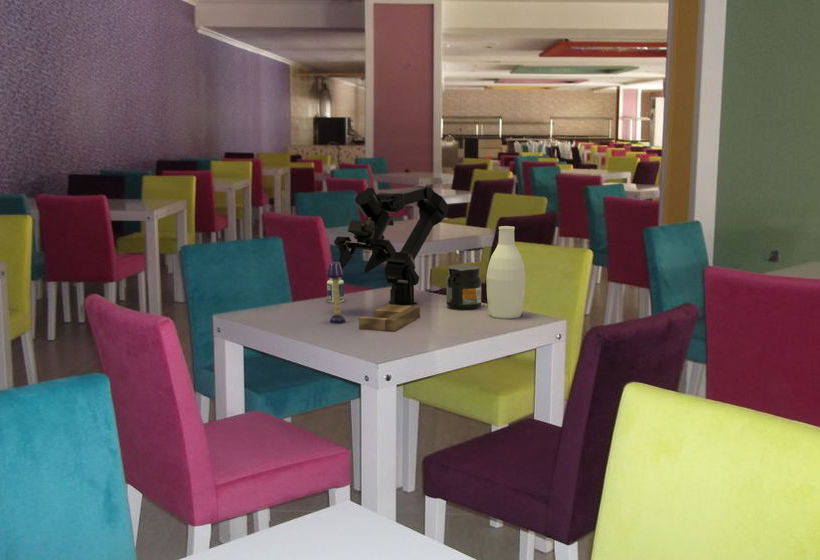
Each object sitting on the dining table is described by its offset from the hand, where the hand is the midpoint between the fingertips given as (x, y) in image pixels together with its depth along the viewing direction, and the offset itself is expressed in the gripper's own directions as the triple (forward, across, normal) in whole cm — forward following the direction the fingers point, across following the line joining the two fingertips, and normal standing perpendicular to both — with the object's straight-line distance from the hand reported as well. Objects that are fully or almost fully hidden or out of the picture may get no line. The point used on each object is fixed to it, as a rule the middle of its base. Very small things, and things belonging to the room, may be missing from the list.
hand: (352, 270), depth 261 cm
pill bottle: (-2, -20, +21) cm, 29 cm away
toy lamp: (+15, 0, +4) cm, 16 cm away
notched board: (+10, +13, +9) cm, 19 cm away
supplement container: (-12, +18, +31) cm, 38 cm away
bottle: (-9, +35, +28) cm, 46 cm away
